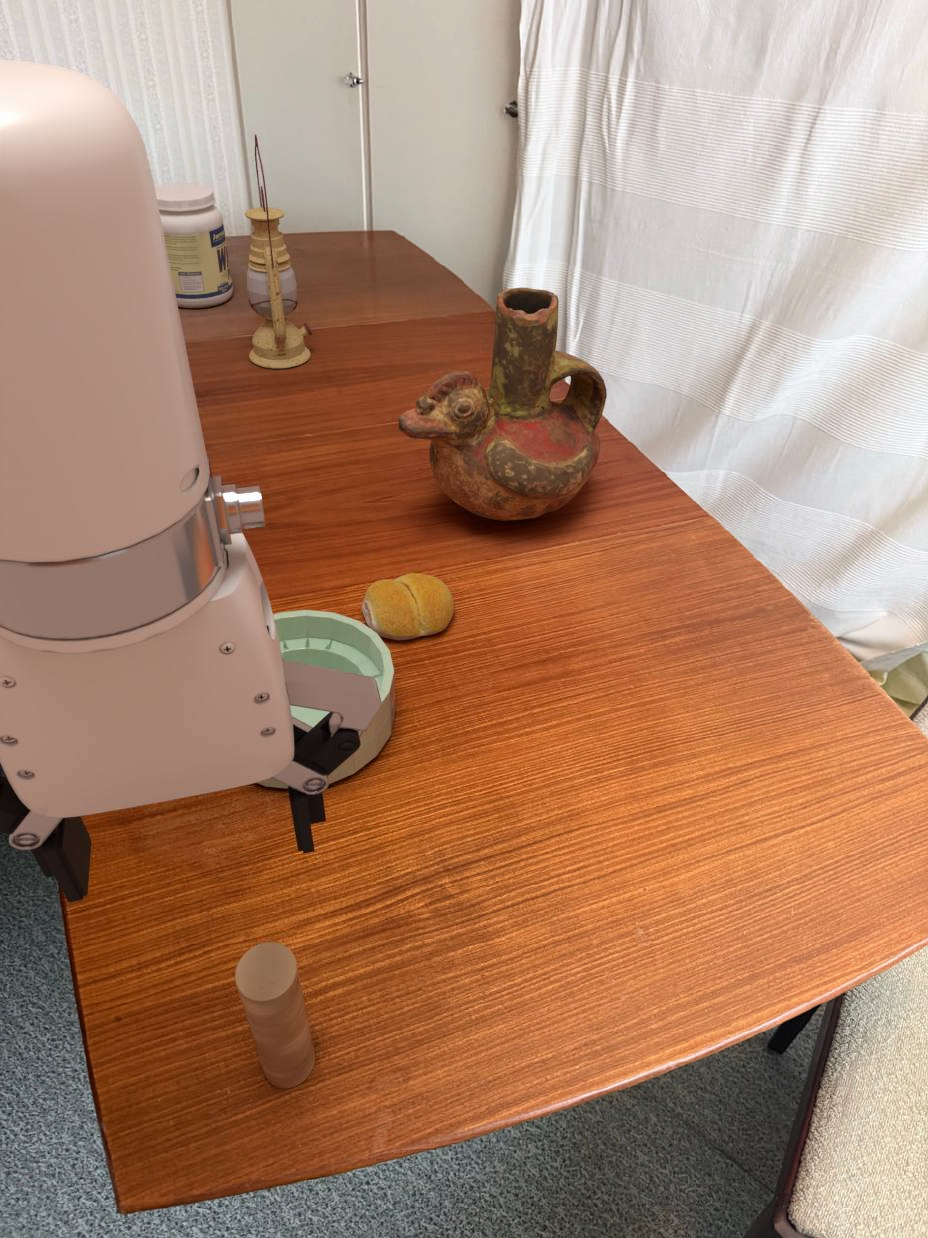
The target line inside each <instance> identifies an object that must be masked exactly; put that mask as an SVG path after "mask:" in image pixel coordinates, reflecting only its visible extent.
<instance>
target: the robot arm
mask: <svg viewBox="0 0 928 1238" xmlns="http://www.w3.org/2000/svg"><path fill="white" fill-rule="evenodd" d="M154 181H155V180H154V178H153V173H152V169H151V165H150V161H149V157H148V153H147V148H146V145H145V141H144V139H143V137H142V134H141V132H140V130H139V127H138V125H137V123H136V122H135V120H134V118H133V116H132V114H131V113H130V110H128V108H127V106H126V105H125V104H124V103H123V101H121V99H120V98H119V97H118V96H117V94H116V93H115V92H114V91H113V90H111V89H110V88H109V87H108V86H106V85H104V84H103V83H101V82H100V81H99V80H98V79H96V78H94V77H92V76H90V75H87V74H84V73H81V72H79V71H76V70H74V69H70V68H67V67H64V66H60V65H55V64H50V63H43V62H35V61H24V60H14V59H4V58H3V59H2V58H0V765H1V768H2V770H3V772H4V774H5V776H4V775H0V833H1V834H5V835H9V838H8V843H9V846H11V848H14V849H16V850H20V851H30V852H31V854H32V855H33V857H34V859H35V861H36V863H37V864H38V866H39V868H40V870H41V872H42V874H43V876H44V877H45V878H52V877H53V878H54V879H55V881H56V883H57V884H58V886H59V888H60V890H61V892H62V894H63V896H64V898H65V899H66V901H67V902H68V904H70V903H74V902H79V901H83V899H84V897H87V896H88V893H89V883H90V870H91V869H90V868H91V856H92V855H91V854H92V839H91V836H90V833H89V831H88V829H87V827H86V824H85V823H84V820H83V818H82V817H83V816H90V815H96V814H102V813H108V812H115V811H120V810H124V809H125V810H126V809H130V808H135V807H136V808H137V807H140V806H141V807H142V806H147V805H151V804H157V803H163V802H169V801H174V800H179V799H184V798H189V797H194V796H199V795H206V794H210V793H216V792H221V791H225V790H229V789H234V788H240V787H243V786H244V787H245V786H248V785H253V784H257V783H256V782H260V781H263V780H266V779H268V778H273V779H275V780H277V781H279V782H281V783H283V784H286V785H288V789H287V791H288V799H289V805H290V812H291V817H292V818H291V819H292V823H293V829H294V834H295V840H296V845H297V851H298V852H302V853H303V854H309V853H313V852H315V845H314V844H315V843H314V838H313V832H312V826H311V825H315V824H319V823H325V822H327V818H326V817H327V816H326V808H325V801H324V794H323V793H324V792H325V791H326V790H327V789H328V788H329V785H330V784H329V780H328V775H330V774H331V773H332V772H333V771H334V770H335V769H336V768H338V767H339V766H340V765H341V764H342V763H343V762H344V761H346V760H347V759H348V758H349V757H350V756H351V755H352V754H353V753H355V752H356V751H357V750H358V749H359V747H360V745H361V742H360V737H361V736H362V734H363V732H366V731H367V729H368V728H369V726H370V725H371V723H372V721H373V720H374V718H375V717H376V715H377V713H378V712H379V710H380V709H381V706H382V701H381V698H380V694H379V690H378V686H377V682H376V680H375V679H374V678H372V677H369V676H364V675H359V674H354V673H349V672H344V671H339V670H334V669H329V668H324V667H318V666H313V665H308V664H303V663H298V662H293V661H288V660H283V655H282V651H281V646H280V642H279V637H278V633H277V629H276V625H275V620H274V616H273V614H274V613H273V609H272V604H271V601H270V597H269V594H268V590H267V588H266V584H265V582H264V579H263V576H262V574H261V571H260V568H259V565H258V562H257V560H256V558H255V556H254V554H253V551H252V549H251V547H250V545H249V542H248V541H247V539H246V537H245V535H244V530H247V529H255V528H262V527H266V519H265V518H266V517H265V511H264V506H263V505H264V504H263V498H262V492H261V486H260V485H252V486H245V487H244V486H242V487H241V486H240V487H237V485H236V483H232V484H231V483H230V484H223V479H222V475H213V473H212V468H211V462H210V457H209V456H207V450H206V444H205V439H204V434H203V428H202V425H201V424H202V423H201V417H200V413H199V407H198V403H197V397H196V393H195V387H194V382H193V377H192V372H191V366H190V362H189V356H188V352H187V347H186V341H185V336H184V332H183V331H184V330H183V326H182V320H181V316H180V310H179V307H178V305H177V300H176V294H175V289H174V284H173V279H172V274H171V269H170V264H169V258H168V253H167V248H166V243H165V238H164V233H163V228H162V222H161V217H160V212H159V207H158V202H157V197H156V192H155V182H154ZM290 705H292V706H298V707H303V708H309V709H315V710H321V711H327V712H329V713H328V714H327V715H326V716H325V717H324V718H323V719H322V720H321V721H320V722H318V723H317V724H316V725H315V726H314V727H311V726H309V725H307V724H306V723H304V722H302V721H300V720H298V719H297V718H295V717H293V716H292V713H291V707H290Z"/></svg>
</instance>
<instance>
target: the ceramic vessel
mask: <svg viewBox="0 0 928 1238" xmlns="http://www.w3.org/2000/svg"><path fill="white" fill-rule="evenodd" d="M495 307H496V308H495V318H494V319H495V320H494V335H493V336H494V337H493V348H492V360H491V361H492V362H491V373H490V382H489V389H488V392H487V393H486V391H485V388H484V387H483V385H482V384H481V383H480V381H479V380H478V378H477V377H476V376H475V374H473V373H472V372H470V371H469V370H468V371H467V370H455V371H451V372H448V373H446V374H444V375H443V376H442V377H439V378H438V379H437V380H436V381H435V382H434V383H433V384H431V385H430V387H429V389H428V390H427V392H426V393H425V394H424V395H421V396H420V397H419V398H418V399H417V400H416V401H415V407H414V408H411V409H409V410H406V411H404V412H402V413H401V415H400V416H399V417H398V418H397V422H398V429H399V431H400V432H401V433H403V434H404V435H405V436H407V437H409V438H410V439H415V440H418V439H421V440H430V443H429V449H428V452H429V453H428V459H429V465H430V470H431V473H432V476H433V477H434V479H435V481H436V483H437V485H438V487H439V488H440V489H441V490H442V492H443V493H444V494H445V495H446V496H447V497H448V498H449V499H450V500H452V501H453V502H454V503H455V504H457V505H458V506H460V507H461V508H463V509H465V510H466V511H468V512H470V513H471V514H473V515H476V516H478V517H481V518H484V519H489V520H494V521H501V522H508V521H520V520H521V521H522V520H532V519H536V518H539V517H541V516H544V515H545V514H548V513H552V512H556V511H557V510H560V509H561V508H562V507H563V506H566V505H567V504H568V503H570V501H571V500H573V499H574V498H575V497H576V496H577V495H578V493H579V492H580V490H581V489H582V488H583V486H585V484H586V482H587V481H588V479H589V478H590V476H591V475H592V473H593V472H594V469H595V468H596V465H597V463H598V460H599V456H600V452H601V439H600V437H599V436H600V435H598V433H597V432H595V431H596V429H597V427H598V425H599V423H600V420H601V418H602V416H603V412H604V409H605V405H606V401H607V398H608V397H607V387H606V383H605V380H604V378H603V376H602V375H601V374H600V372H599V370H597V368H596V367H594V366H593V365H591V364H590V363H588V362H587V361H584V360H583V359H581V358H579V357H577V356H575V355H573V354H570V353H566V352H564V351H560V350H557V342H558V330H559V329H558V328H559V297H558V295H557V294H555V293H554V292H552V291H549V290H546V289H538V288H531V287H513V288H508V289H504V290H502V291H500V292H499V293H498V295H497V297H496V306H495ZM569 377H570V380H569V387H568V390H567V393H566V395H565V397H564V398H563V399H562V401H561V402H556V401H553V400H551V398H550V394H551V392H552V388H553V386H554V385H555V384H557V383H559V382H560V381H561V380H564V379H566V378H569Z"/></svg>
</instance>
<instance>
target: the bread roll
mask: <svg viewBox="0 0 928 1238" xmlns="http://www.w3.org/2000/svg"><path fill="white" fill-rule="evenodd" d="M365 590H366V591H365V592H364V595H365V596H364V597H363V602H362V605H361V610H362V614H363V617H364V620H365V624H367V627H369V628H370V629H372V630H373V631H375V632H376V633H377V634H378V635H379V637H380V638H384V639H385V638H386V639H389V640H395V641H405V640H406V641H407V640H413V639H416V638H419V637H423V636H424V637H425V636H432V635H435V634H438V633H441V632H442V631H444V630H445V629H446V628H447V627H448V625H449V624H450V622H451V620H452V618H453V616H454V615H453V614H454V610H455V600H454V597H453V595H452V592H451V590H450V589H449V587H448V586H447V584H445V583H444V581H442V580H441V579H440V578H437V577H436V576H432V575H430V574H424V573H419V572H418V573H415V572H410V573H406V574H403V575H401V576H399V577H397V578H394V579H387V578H385V579H383V578H382V579H379V580H376V581H374V582H373V583H372V584H371V585H369V587H368V588H367V589H365Z"/></svg>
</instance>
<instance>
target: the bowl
mask: <svg viewBox="0 0 928 1238" xmlns="http://www.w3.org/2000/svg"><path fill="white" fill-rule="evenodd" d="M273 616H274V620H275V625H276V629H277V633H278V637H279V642H280V646H281V651H282V655H283V660H288V661H293V662H298V663H303V664H308V665H313V666H318V667H324V668H329V669H334V670H339V671H344V672H349V673H354V674H359V675H364V676H369V677H372V678H374V679H375V680H376V682H377V686H378V690H379V694H380V698H381V701H382V706H381V709H380V710H379V712H378V713H377V715H376V717H375V718H374V720H373V721H372V723H371V725H370V726H369V728H368V729H367V731H366V732H363V734H362V736H361V737H360V742H361V745H360V747H359V749H358V750H357V751H356V752H355V753H353V754H352V755H351V756H350V757H349V758H348V759H347V760H346V761H344V762H343V763H342V764H341V765H340V766H339V767H338V768H336V769H335V770H334V771H333V772H332V773H331V774H330V775H328V780H329V785H331V784H333V783H336V782H337V781H340V780H342V779H345V778H347V777H349V776H352V775H354V774H355V773H357V772H358V771H359V770H361V769H362V768H364V767H365V766H366V765H367V764H368V763H370V762H371V761H372V760H374V759H375V758H376V757H377V756H378V755H379V753H380V752H381V751H382V749H383V747H384V746H385V745H386V743H387V741H388V740H389V738H390V737H391V735H392V732H393V728H394V722H395V719H396V687H395V685H396V683H395V682H396V681H395V667H394V663H393V659H392V654H391V650H390V648H389V647H388V646H387V644H386V643H385V642H384V641H383V639H382V637H381V636H379V635H378V634H377V633H376V632H375V631H373V630H372V629H370V628H369V626H368V625H366V624H364V623H363V622H361V621H360V620H357V619H354V618H352V617H349V616H345V615H343V614H340V613H337V612H333V611H323V610H314V609H313V610H312V609H298V610H290V611H281V612H276V613H273ZM290 707H291V713H292V716H293V717H295V718H297V719H298V720H300V721H302V722H304V723H306V724H307V725H309V726H311V727H314V726H315V725H316V724H317V723H318V722H320V721H321V720H322V719H323V718H324V717H325V716H326V715H327V714H328V713H329V712H327V711H321V710H315V709H309V708H303V707H298V706H292V705H290ZM255 784H258V785H261V786H263V787H266V788H268V787H270V788H278V789H287V790H288V785H286V784H283V783H281V782H279V781H277V780H275V779H273V778H268V779H266V780H263V781H260V782H256V783H255Z"/></svg>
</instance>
